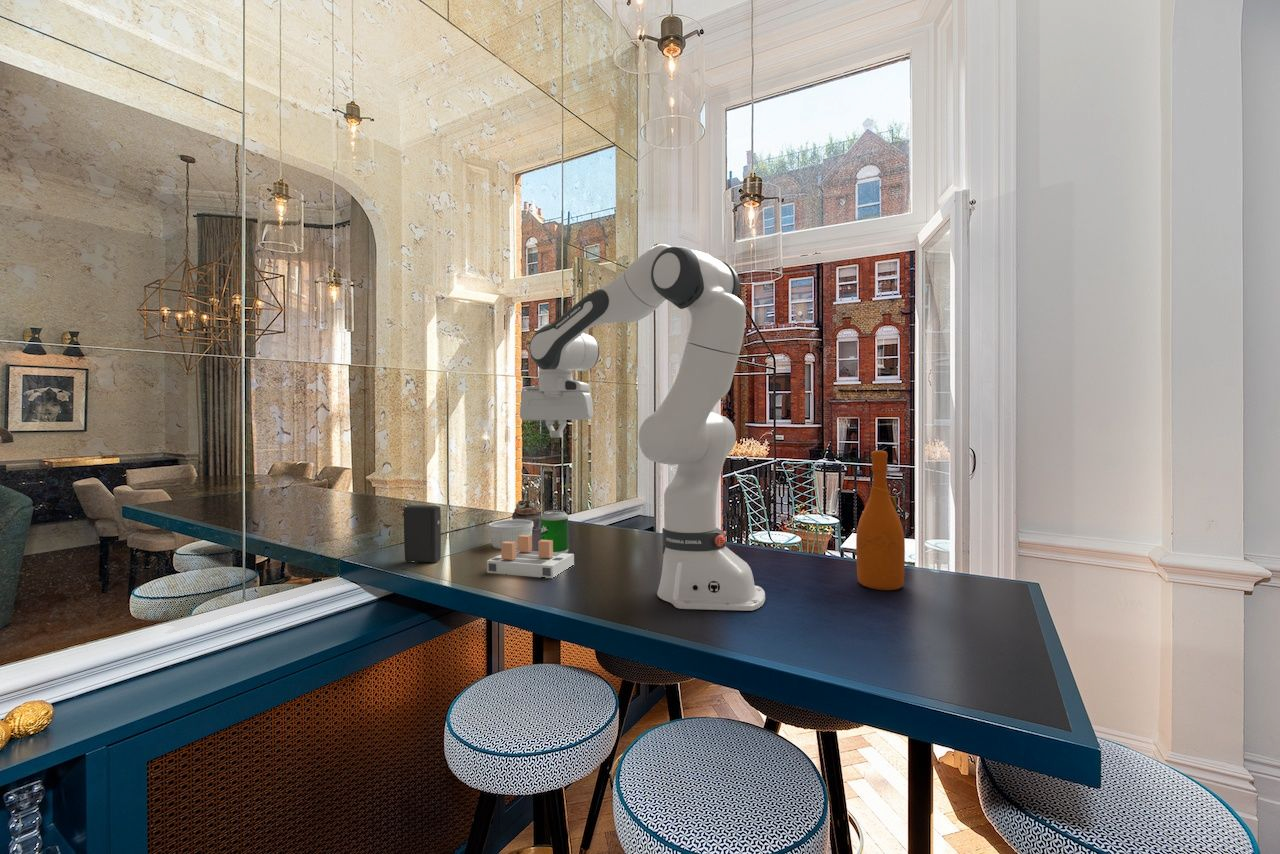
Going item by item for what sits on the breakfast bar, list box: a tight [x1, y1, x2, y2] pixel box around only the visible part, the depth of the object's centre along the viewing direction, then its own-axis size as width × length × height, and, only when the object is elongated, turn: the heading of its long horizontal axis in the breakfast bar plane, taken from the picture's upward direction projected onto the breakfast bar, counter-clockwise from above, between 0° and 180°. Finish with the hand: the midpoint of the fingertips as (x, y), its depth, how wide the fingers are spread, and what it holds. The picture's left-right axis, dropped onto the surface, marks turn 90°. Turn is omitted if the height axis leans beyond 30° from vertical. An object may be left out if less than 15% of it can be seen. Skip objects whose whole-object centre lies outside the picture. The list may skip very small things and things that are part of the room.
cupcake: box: [511, 500, 541, 530], centre depth 188 cm, size 10×10×10 cm
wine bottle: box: [855, 449, 906, 591], centre depth 120 cm, size 10×10×30 cm
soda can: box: [540, 509, 569, 553], centre depth 151 cm, size 8×8×12 cm
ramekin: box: [488, 519, 534, 550], centre depth 164 cm, size 13×13×7 cm
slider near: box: [500, 541, 517, 560], centre depth 134 cm, size 3×2×4 cm, turn 72°
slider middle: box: [537, 539, 553, 558], centre depth 136 cm, size 3×2×4 cm, turn 72°
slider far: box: [517, 534, 533, 552], centre depth 142 cm, size 3×2×4 cm, turn 72°
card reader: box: [403, 504, 442, 563], centre depth 146 cm, size 9×4×15 cm, turn 82°
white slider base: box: [486, 549, 575, 579], centre depth 137 cm, size 18×12×3 cm
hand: (556, 437), depth 144 cm, fingers closed
